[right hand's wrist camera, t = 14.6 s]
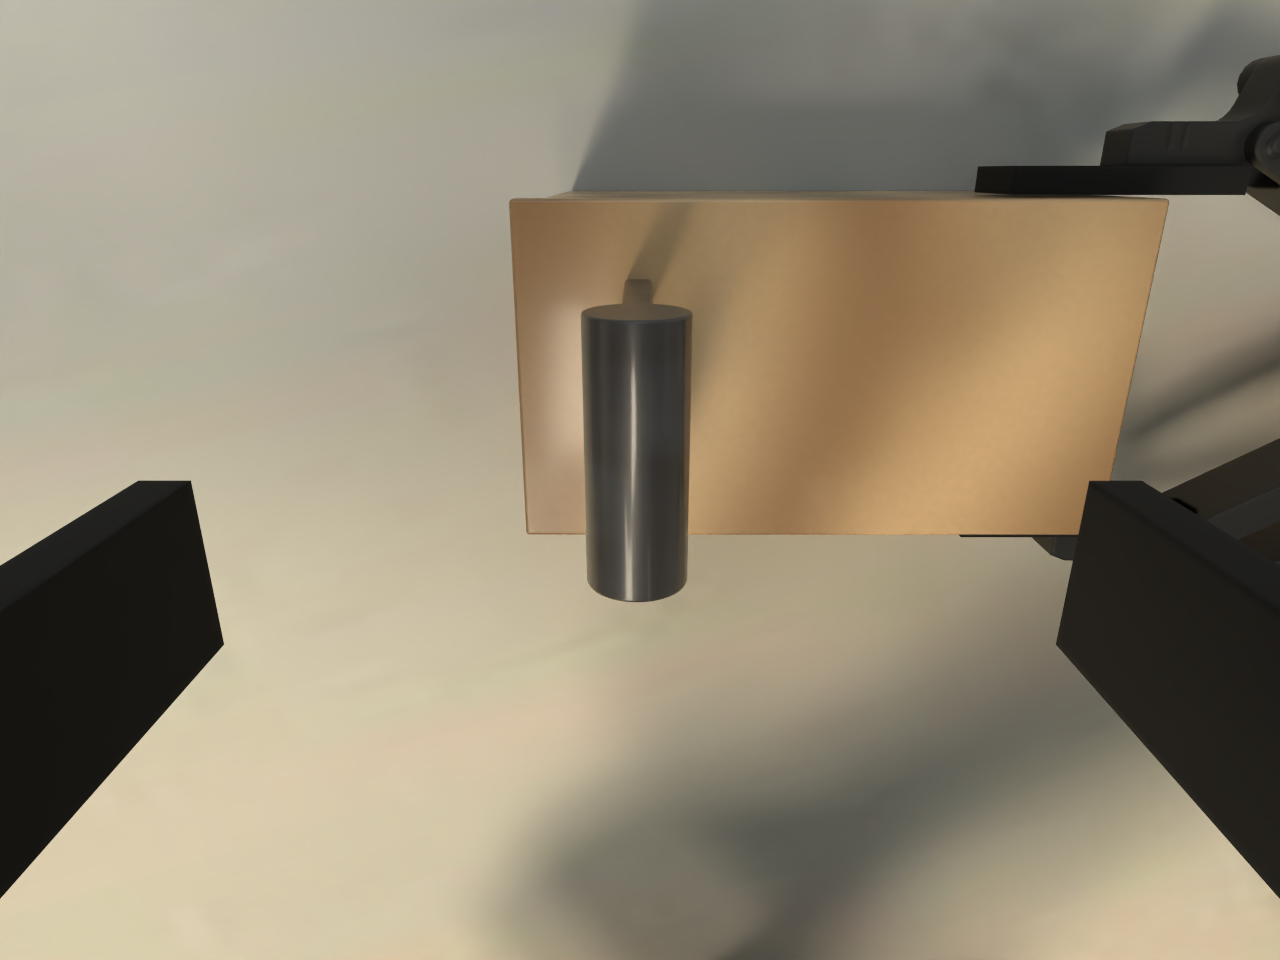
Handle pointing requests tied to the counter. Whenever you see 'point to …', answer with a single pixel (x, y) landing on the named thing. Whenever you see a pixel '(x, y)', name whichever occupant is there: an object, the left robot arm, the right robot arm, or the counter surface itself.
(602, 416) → the lid
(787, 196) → the chest
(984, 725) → the counter surface
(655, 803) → the counter surface
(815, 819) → the counter surface
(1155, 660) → the right robot arm
